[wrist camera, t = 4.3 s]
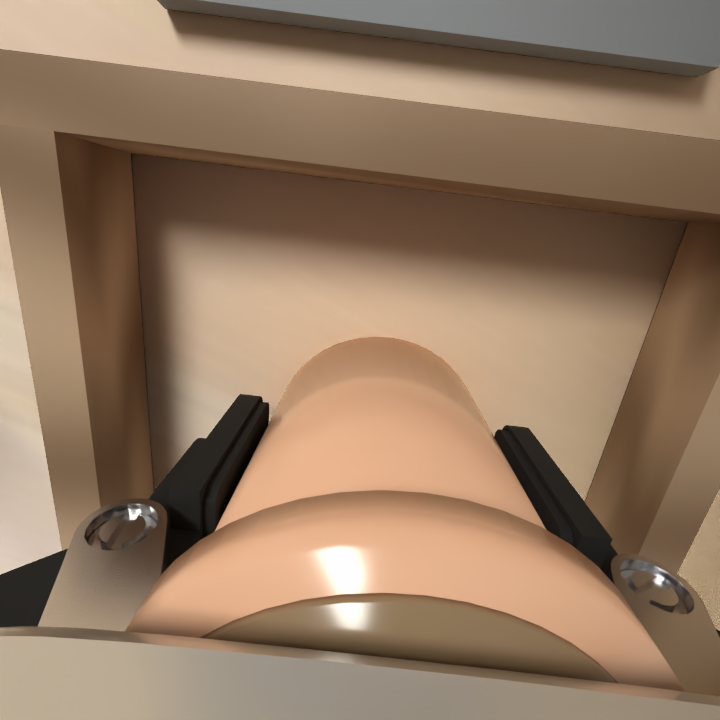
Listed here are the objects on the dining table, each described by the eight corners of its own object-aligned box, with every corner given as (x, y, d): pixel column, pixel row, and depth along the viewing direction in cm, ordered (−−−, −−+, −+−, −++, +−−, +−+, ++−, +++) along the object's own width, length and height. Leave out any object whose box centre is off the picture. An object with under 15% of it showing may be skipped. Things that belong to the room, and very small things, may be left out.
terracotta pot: (269, 309, 11) (31, 515, 3) (513, 338, 11) (833, 606, 3) (261, 508, 13) (109, 905, 6) (463, 532, 13) (587, 954, 6)
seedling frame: (75, 90, 9) (-24, 46, 7) (756, 175, 10) (882, 160, 7) (129, 601, 15) (83, 673, 12) (563, 649, 15) (599, 729, 13)
